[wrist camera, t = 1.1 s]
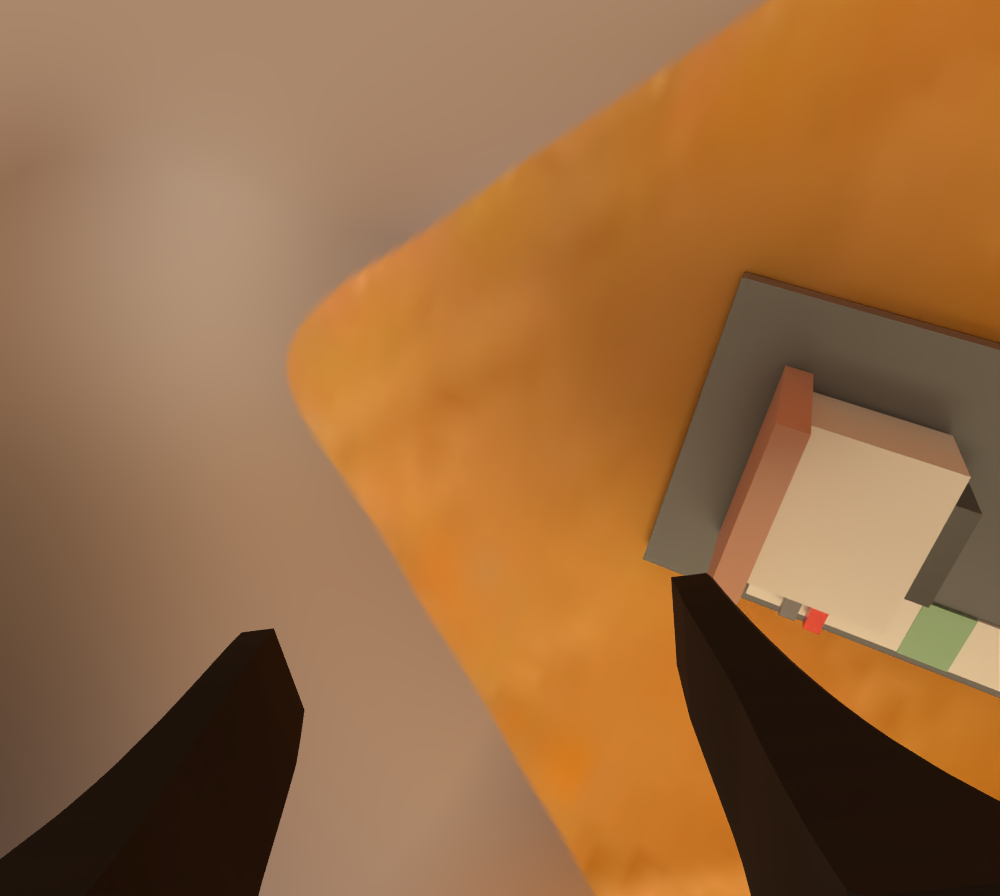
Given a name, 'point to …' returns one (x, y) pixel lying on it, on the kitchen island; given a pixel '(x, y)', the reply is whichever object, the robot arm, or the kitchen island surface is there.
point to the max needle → (814, 620)
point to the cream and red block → (844, 509)
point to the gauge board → (872, 385)
